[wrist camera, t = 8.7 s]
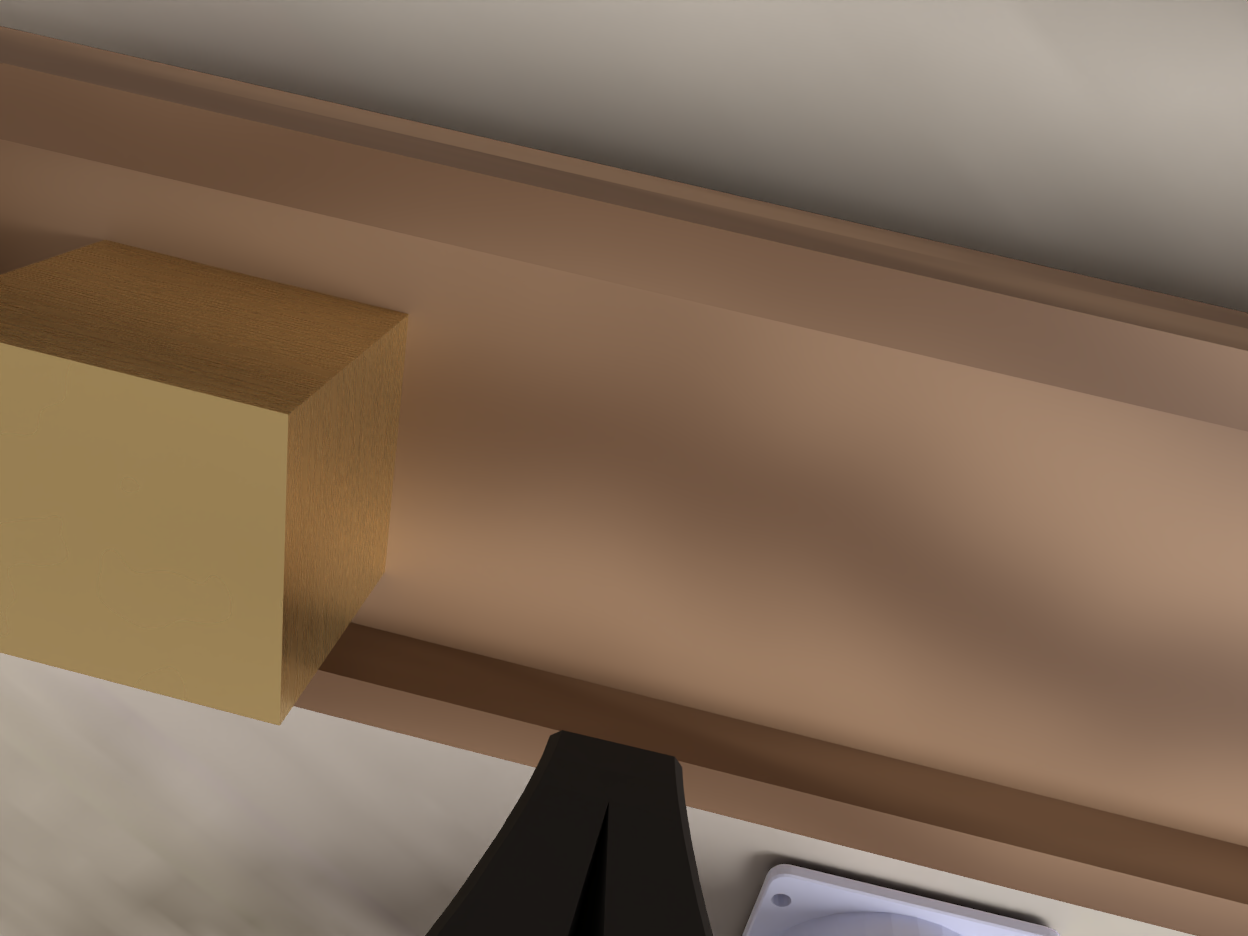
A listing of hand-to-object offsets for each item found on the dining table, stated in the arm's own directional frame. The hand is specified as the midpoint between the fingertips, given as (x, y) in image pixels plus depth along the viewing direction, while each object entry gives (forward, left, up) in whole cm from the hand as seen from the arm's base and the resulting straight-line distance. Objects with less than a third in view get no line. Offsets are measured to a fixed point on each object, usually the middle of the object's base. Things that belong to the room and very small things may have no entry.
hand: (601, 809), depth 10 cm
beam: (0, 0, -7) cm, 7 cm away
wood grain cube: (0, +7, -6) cm, 9 cm away
